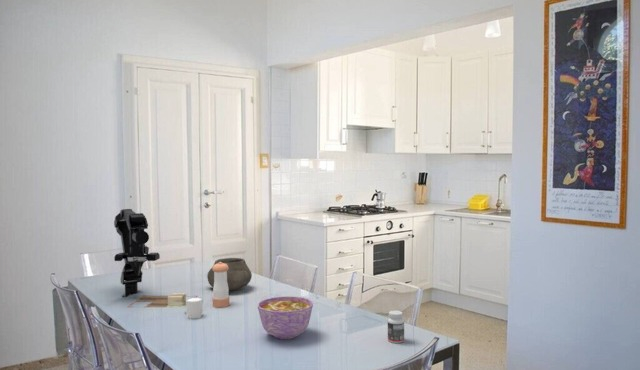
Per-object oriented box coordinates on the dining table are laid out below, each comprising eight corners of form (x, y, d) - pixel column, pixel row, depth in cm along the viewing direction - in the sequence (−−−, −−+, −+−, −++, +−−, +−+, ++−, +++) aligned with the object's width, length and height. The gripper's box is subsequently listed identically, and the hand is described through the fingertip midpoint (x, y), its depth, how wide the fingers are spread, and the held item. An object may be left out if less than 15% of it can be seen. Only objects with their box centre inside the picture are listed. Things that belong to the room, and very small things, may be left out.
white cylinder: (198, 319, 205) (198, 302, 205) (182, 318, 206) (182, 301, 206) (206, 314, 212) (205, 297, 211) (190, 313, 213) (190, 296, 213)
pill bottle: (386, 338, 180) (385, 310, 180) (402, 337, 181) (401, 309, 180) (389, 343, 175) (389, 315, 174) (406, 343, 175) (405, 314, 175)
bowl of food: (284, 322, 199) (284, 293, 198) (324, 333, 186) (324, 301, 186) (246, 337, 183) (245, 305, 183) (287, 349, 171) (286, 315, 170)
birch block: (172, 302, 225) (172, 293, 225) (186, 302, 224) (185, 293, 224) (167, 306, 219) (167, 297, 219) (181, 306, 218) (181, 297, 218)
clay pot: (200, 289, 253) (199, 259, 252) (238, 282, 266) (238, 254, 265) (220, 298, 235) (219, 266, 235) (260, 291, 248) (259, 260, 248)
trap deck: (143, 299, 237) (143, 295, 236) (198, 299, 235) (197, 295, 235) (126, 310, 219) (126, 307, 218) (185, 310, 217) (185, 307, 217)
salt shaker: (225, 308, 220) (224, 263, 219) (210, 307, 222) (208, 263, 221) (232, 303, 227) (231, 260, 226) (216, 302, 229) (215, 260, 228)
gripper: (163, 238, 238) (164, 271, 238) (124, 238, 239) (125, 271, 239) (154, 242, 227) (155, 277, 227) (113, 242, 228) (114, 277, 228)
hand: (137, 275), depth 231 cm, fingers closed
